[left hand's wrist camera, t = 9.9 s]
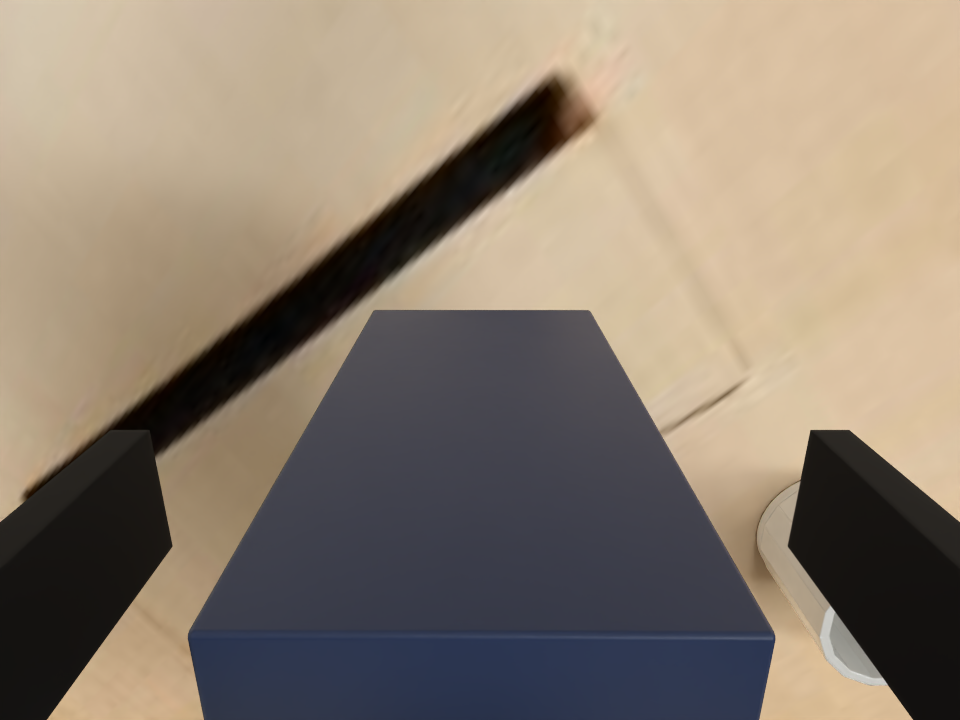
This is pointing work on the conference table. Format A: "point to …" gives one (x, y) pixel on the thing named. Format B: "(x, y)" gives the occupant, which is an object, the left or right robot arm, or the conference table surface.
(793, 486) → the white cup
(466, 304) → the conference table surface
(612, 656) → the blue block
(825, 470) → the left robot arm
